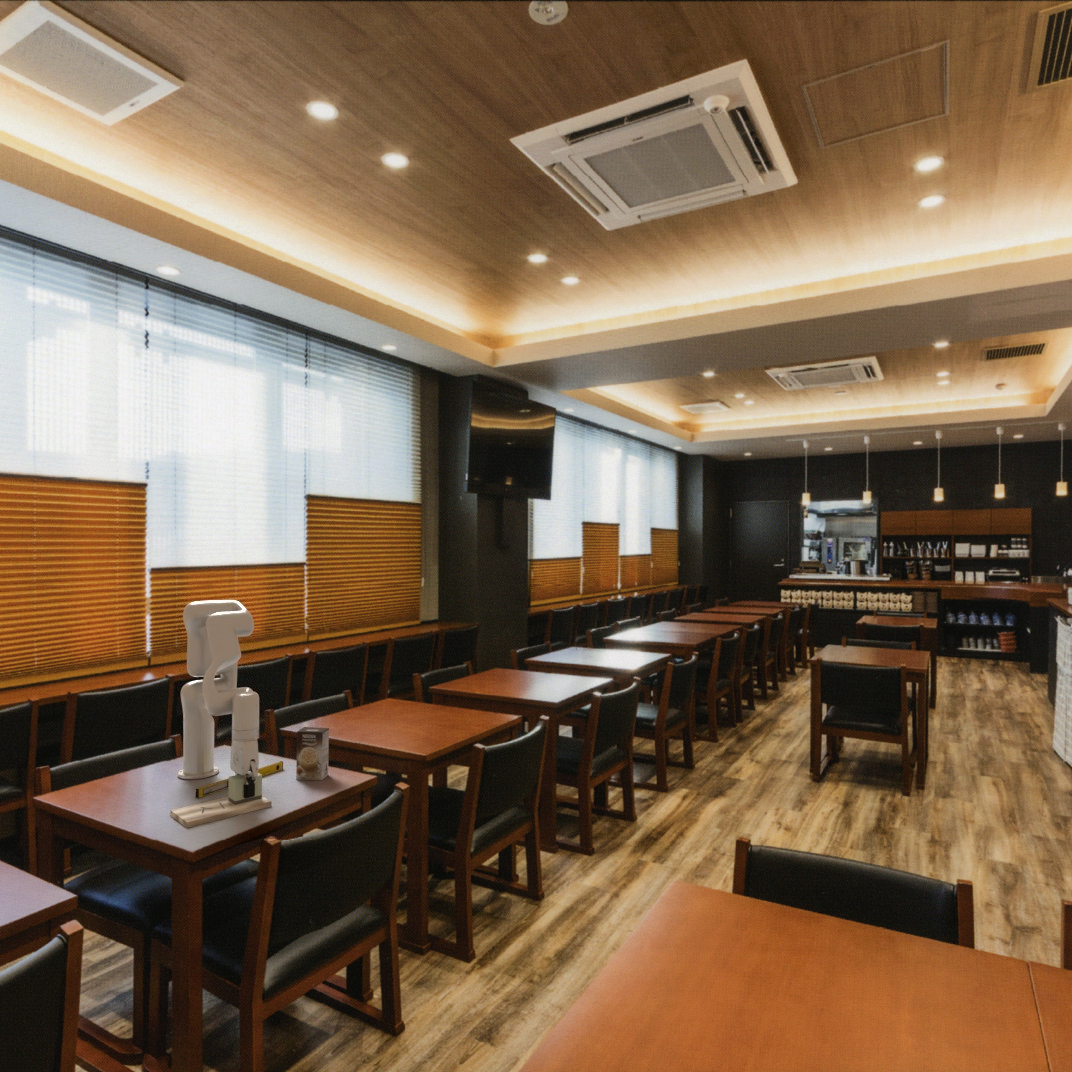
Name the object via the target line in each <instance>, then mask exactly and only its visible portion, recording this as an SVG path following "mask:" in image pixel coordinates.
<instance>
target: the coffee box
mask: <svg viewBox="0 0 1072 1072" xmlns="http://www.w3.org/2000/svg"><path fill="white" fill-rule="evenodd" d="M329 737H330V728H329V727H316V726H303V727H302V728H300V729H299V730H297V731H296V765H295V766H296V769H295V770H296V771H295V772H296V775H295V779H296V780H302V781H304V780H305V781H323V780H324V779H325V778H326V777H327V776H329V755H330V754H329V747H330V745H329V743H330V742H329V741H330V738H329Z"/></svg>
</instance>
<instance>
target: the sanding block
mask: <svg viewBox="0 0 1072 1072" xmlns="http://www.w3.org/2000/svg"><path fill="white" fill-rule="evenodd" d="M248 772H249V773H251V772H250V771H248ZM257 773H258V772H257ZM247 774H248V773H247ZM250 776H251V775H248V778H249V777H250ZM228 778H229V788H228V793H227V794H228V796H227V797H228V801H230V802H232V803H233V804H235V805H236V804H240V803H244V802H248V801H253V800H257V799H261V798H262V796H263V776H262V775H261V774H259V773H258V776H257V778H256V783H255V796H254V797H250V798H244V785H245V779H244V775H243V776H242V775H232V776H228Z"/></svg>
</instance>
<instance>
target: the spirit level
mask: <svg viewBox="0 0 1072 1072" xmlns="http://www.w3.org/2000/svg"><path fill="white" fill-rule="evenodd" d="M282 770H284V761H282V760H280V761H278V762H277V761H276V762H274V763H271V764H269V765H266V766H261V767H258V771H257V772H258V773H259V774H261V775H262V777H264V776H267V775H269V774H272V773H277V772H278V771H279V772H280V771H282ZM249 772H251V771H248V773H249ZM226 789H229V777H228V778H226V779H225V778H224V779H222V780H220V781H216V782H213V783H211V784H207V785H204V786H200V787H198V788H195V798H198V799H200V798H202V797H206V796H208V795H211V794H212V795H213V794H215V793H217V792H221V791H223V790H226Z"/></svg>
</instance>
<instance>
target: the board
mask: <svg viewBox="0 0 1072 1072" xmlns="http://www.w3.org/2000/svg"><path fill="white" fill-rule="evenodd" d="M271 807H272V800H270V799H268V798H267V797H264V796H263V795H262V798H261V799H257V800H253V801H248V802H244V803H240V804H236V805H235V804H233V803H232V802H230V801H228V796H226V797H220V798H218V799H217V798H216V799H212V800H207V801H203V802H200V803H195V804H191V805H187V806H183V807H182V806H181V807H179V808H174V809H171V810H170V816H171V817H172V818H173V819H175V820H176V821H177V822H179V823H180V824H181V825H183V827H185V828H186V829H187V828H191V827H195V826H199V825H204V824H208V823H211V822H214V821H215V822H216V821H219V820H223V819H227V818H231V817H235V816H238V815H243V814H246V813H251V812H254V811H258V810H262V809H266V808H271Z"/></svg>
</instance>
